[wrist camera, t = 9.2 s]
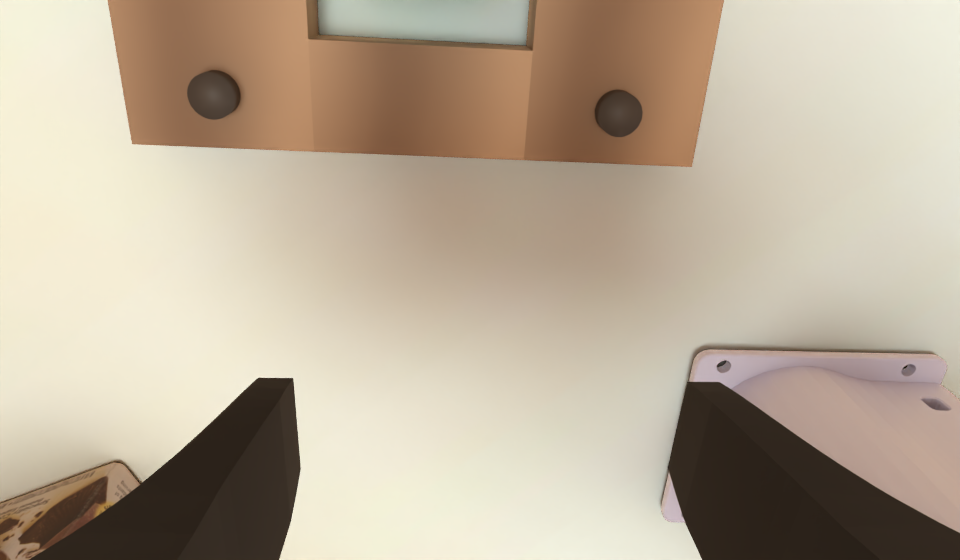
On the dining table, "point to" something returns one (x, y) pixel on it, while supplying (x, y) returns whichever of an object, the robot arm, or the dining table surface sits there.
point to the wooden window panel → (420, 82)
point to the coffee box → (59, 510)
